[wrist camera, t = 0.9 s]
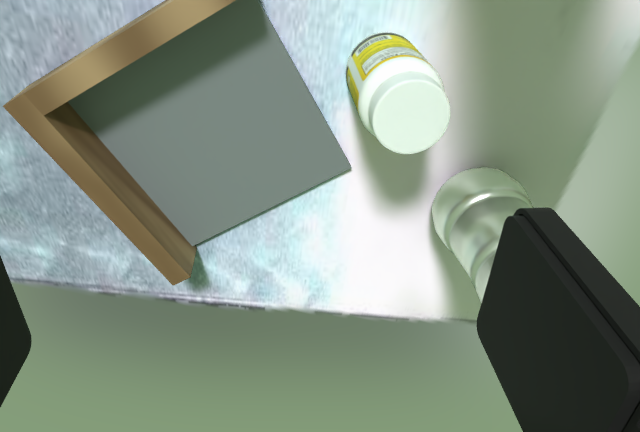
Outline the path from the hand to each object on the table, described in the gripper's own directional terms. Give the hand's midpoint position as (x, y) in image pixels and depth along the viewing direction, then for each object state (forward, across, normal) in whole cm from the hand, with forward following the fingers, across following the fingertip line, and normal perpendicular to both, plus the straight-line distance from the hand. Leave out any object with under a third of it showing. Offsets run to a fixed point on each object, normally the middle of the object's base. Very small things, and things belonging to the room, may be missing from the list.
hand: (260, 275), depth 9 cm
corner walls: (+24, +4, +7) cm, 26 cm away
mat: (+24, +4, +8) cm, 26 cm away
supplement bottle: (+24, -7, +3) cm, 26 cm away
